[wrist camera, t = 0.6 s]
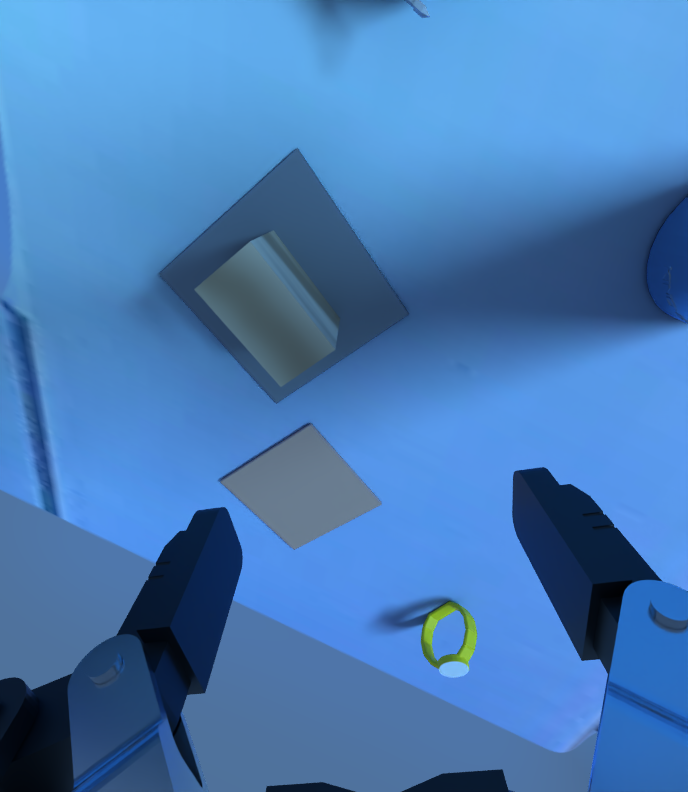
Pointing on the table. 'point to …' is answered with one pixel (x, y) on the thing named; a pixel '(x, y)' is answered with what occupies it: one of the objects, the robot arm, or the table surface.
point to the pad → (301, 488)
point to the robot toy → (418, 7)
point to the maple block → (272, 308)
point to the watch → (459, 662)
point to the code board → (314, 251)
